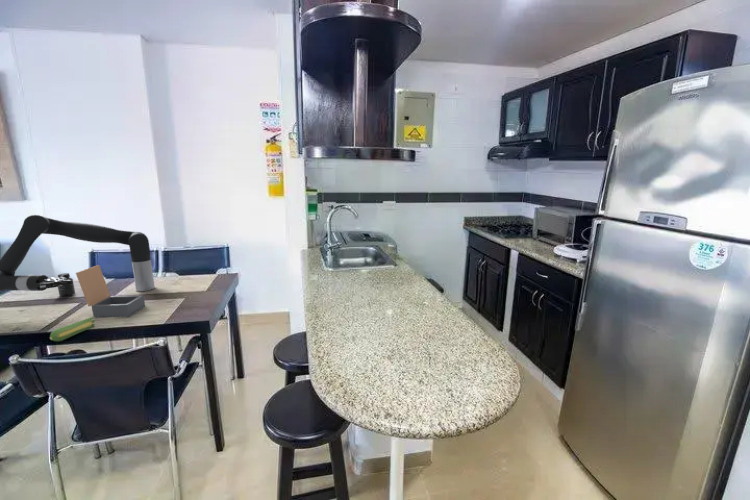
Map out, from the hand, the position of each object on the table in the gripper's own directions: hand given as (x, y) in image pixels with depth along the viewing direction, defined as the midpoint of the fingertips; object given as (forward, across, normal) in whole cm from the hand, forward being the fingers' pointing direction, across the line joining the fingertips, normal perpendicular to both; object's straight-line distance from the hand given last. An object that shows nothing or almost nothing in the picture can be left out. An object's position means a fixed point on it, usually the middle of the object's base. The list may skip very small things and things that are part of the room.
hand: (71, 282), depth 166 cm
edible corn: (+16, -22, +16) cm, 32 cm away
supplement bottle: (-25, +28, +16) cm, 40 cm away
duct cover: (+10, 0, +1) cm, 10 cm away
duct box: (+20, 0, +15) cm, 25 cm away
